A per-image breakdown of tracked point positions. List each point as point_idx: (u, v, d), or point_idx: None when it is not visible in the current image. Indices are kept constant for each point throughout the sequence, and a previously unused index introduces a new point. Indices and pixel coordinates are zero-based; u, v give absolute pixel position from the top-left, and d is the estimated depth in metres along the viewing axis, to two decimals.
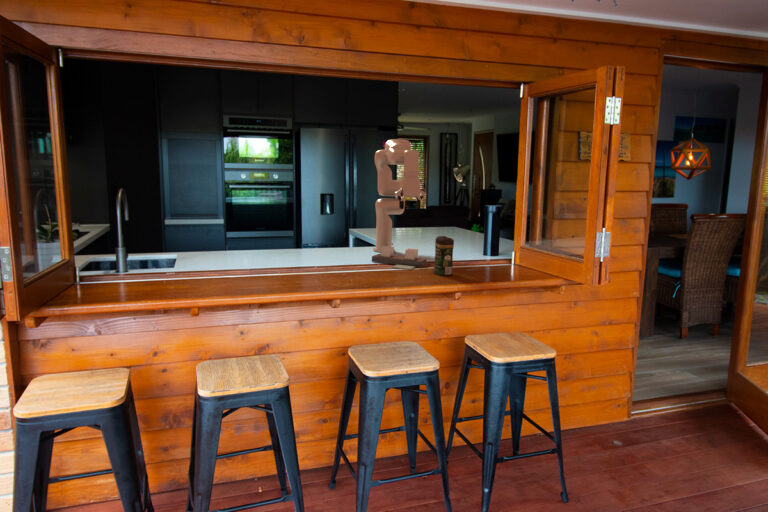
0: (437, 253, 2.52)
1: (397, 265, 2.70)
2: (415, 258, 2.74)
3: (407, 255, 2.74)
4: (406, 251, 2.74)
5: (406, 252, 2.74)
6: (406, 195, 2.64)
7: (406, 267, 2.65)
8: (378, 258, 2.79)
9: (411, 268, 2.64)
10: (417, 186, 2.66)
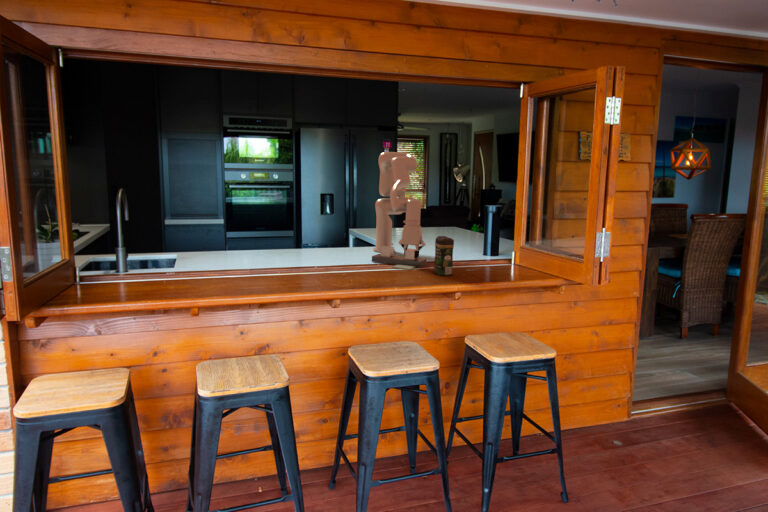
0: (437, 253, 2.52)
1: (397, 265, 2.70)
2: (415, 258, 2.74)
3: (407, 255, 2.74)
4: (406, 251, 2.74)
5: (406, 252, 2.74)
6: None
7: (406, 267, 2.65)
8: (378, 258, 2.79)
9: (411, 268, 2.64)
10: None
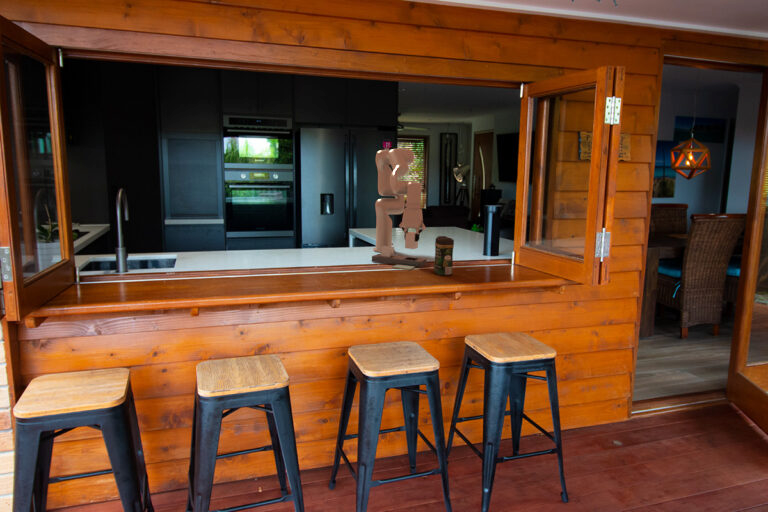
0: (437, 253, 2.52)
1: (397, 265, 2.70)
2: (415, 241, 2.73)
3: (407, 238, 2.73)
4: (406, 234, 2.73)
5: (406, 235, 2.73)
6: None
7: (406, 267, 2.65)
8: (378, 258, 2.79)
9: (411, 268, 2.64)
10: None
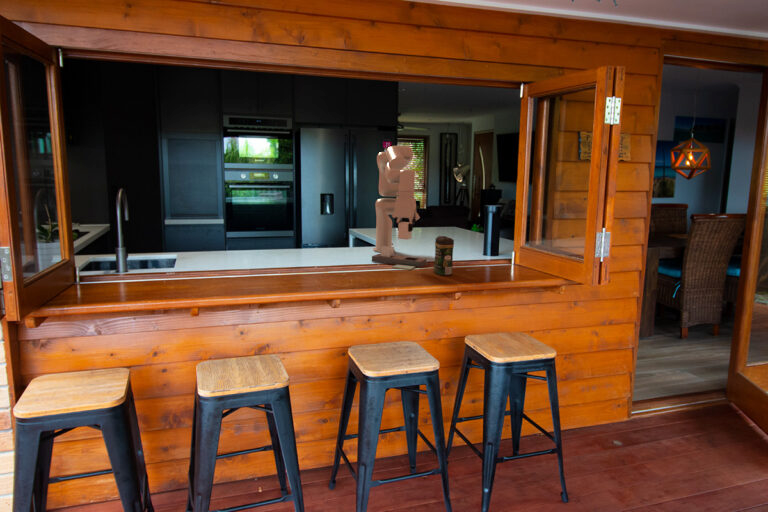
0: (437, 253, 2.52)
1: (397, 265, 2.70)
2: None
3: (400, 228, 2.62)
4: (399, 224, 2.62)
5: (399, 225, 2.62)
6: None
7: (406, 267, 2.65)
8: (378, 258, 2.79)
9: (411, 268, 2.64)
10: None
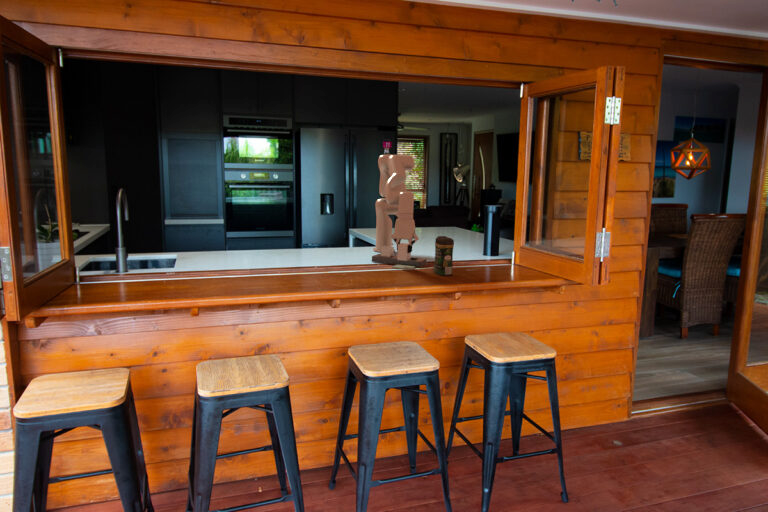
0: (437, 253, 2.52)
1: (397, 265, 2.70)
2: (408, 253, 2.64)
3: (399, 249, 2.64)
4: (399, 245, 2.64)
5: (399, 246, 2.64)
6: None
7: (406, 267, 2.65)
8: (378, 258, 2.79)
9: (411, 268, 2.64)
10: None
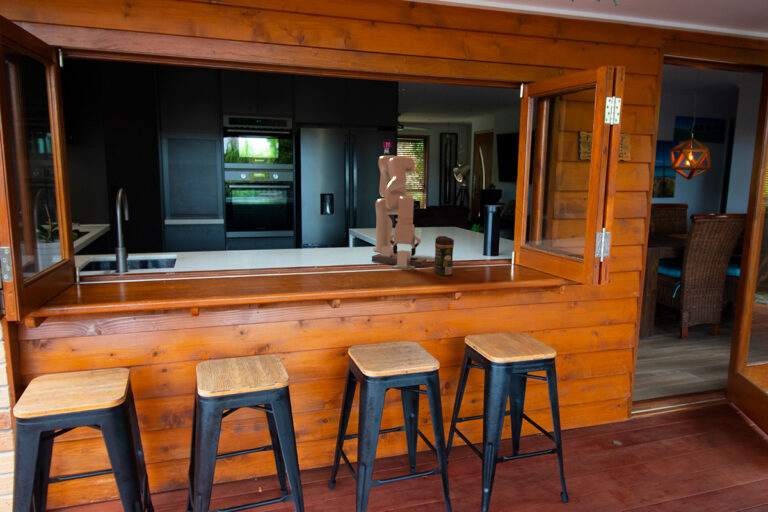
0: (437, 253, 2.52)
1: None
2: (408, 260, 2.65)
3: (399, 257, 2.65)
4: (398, 253, 2.64)
5: (398, 254, 2.64)
6: None
7: None
8: (378, 258, 2.79)
9: (411, 268, 2.64)
10: None
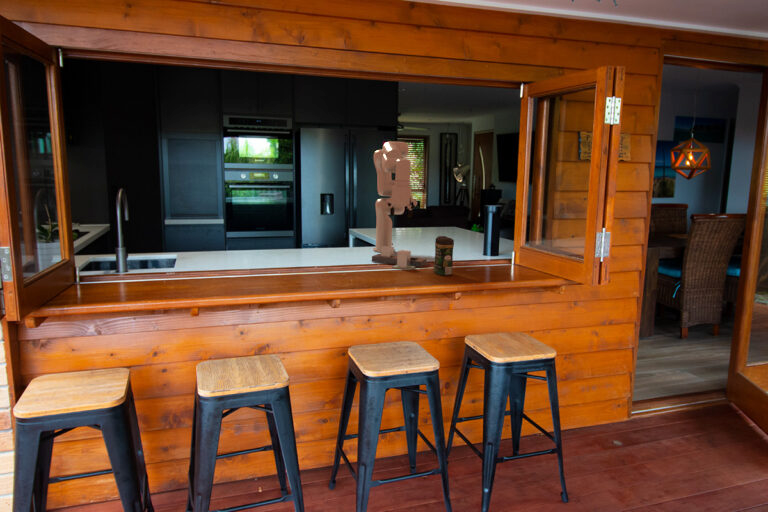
0: (437, 253, 2.52)
1: None
2: (408, 260, 2.65)
3: (399, 257, 2.65)
4: (398, 253, 2.64)
5: (398, 254, 2.64)
6: None
7: None
8: (378, 258, 2.79)
9: (411, 268, 2.64)
10: None
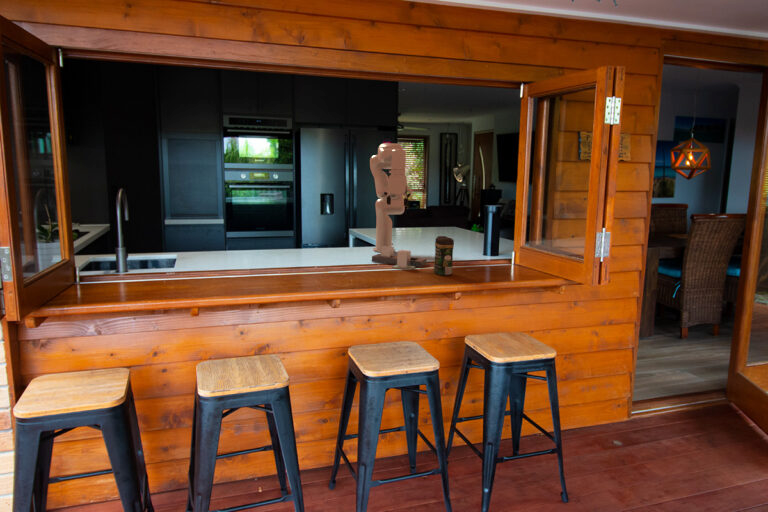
0: (437, 253, 2.52)
1: None
2: (408, 260, 2.65)
3: (399, 257, 2.65)
4: (398, 253, 2.64)
5: (398, 254, 2.64)
6: None
7: None
8: (378, 258, 2.79)
9: (411, 268, 2.64)
10: None
